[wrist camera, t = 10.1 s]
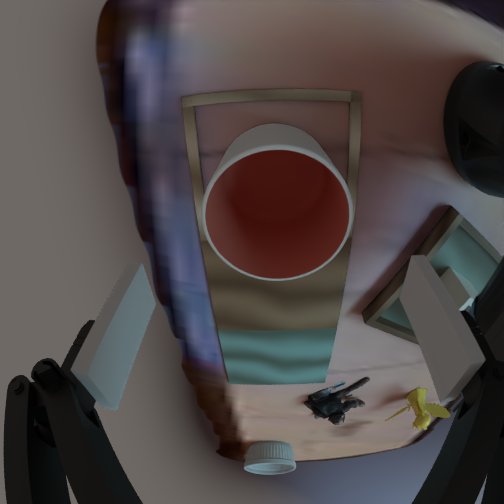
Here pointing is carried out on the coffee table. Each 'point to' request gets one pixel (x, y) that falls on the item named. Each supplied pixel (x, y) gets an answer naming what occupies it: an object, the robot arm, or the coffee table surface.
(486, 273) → the dice tray
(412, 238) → the coffee table surface
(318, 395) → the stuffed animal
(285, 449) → the ramekin
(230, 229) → the cup
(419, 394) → the figurine
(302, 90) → the track
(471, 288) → the die
